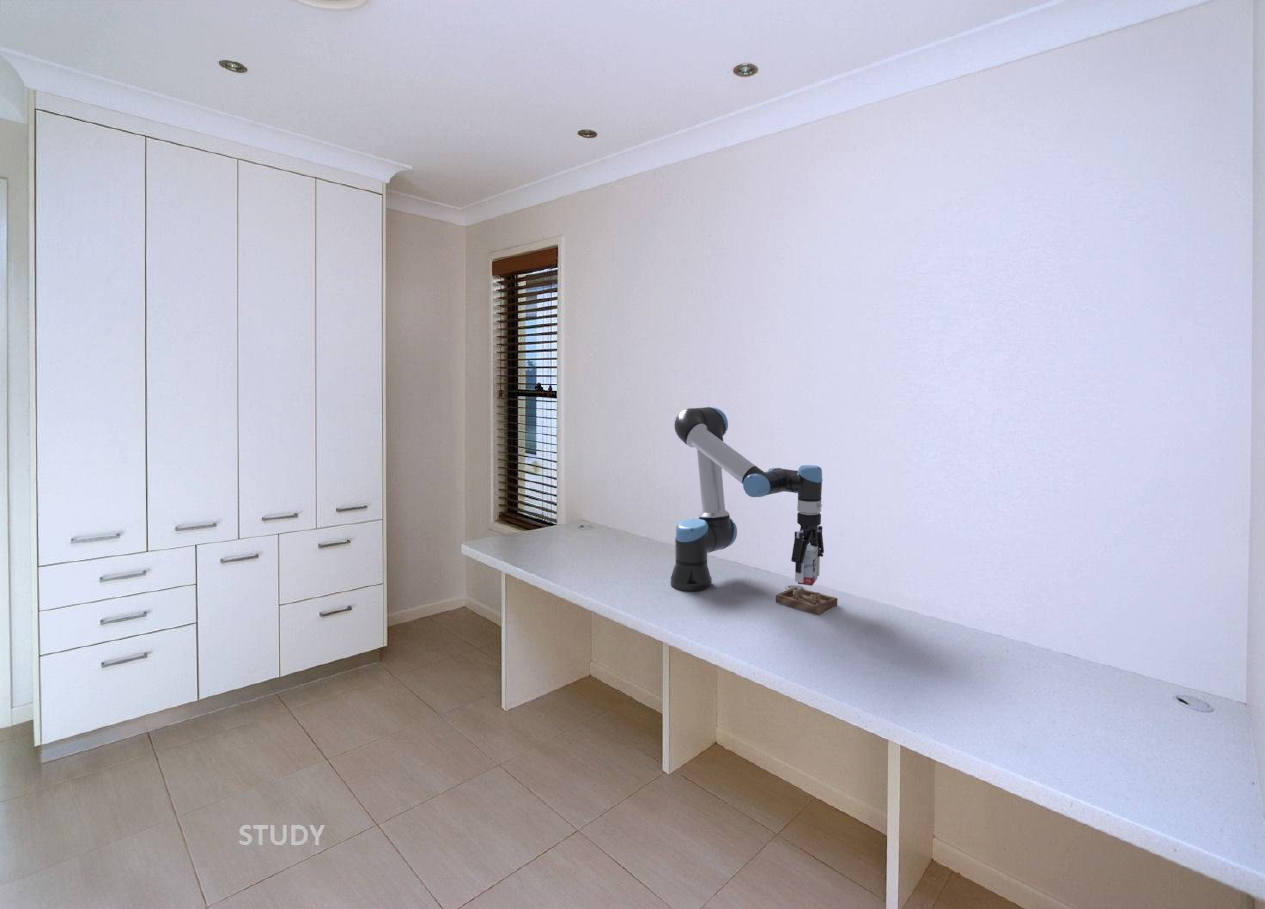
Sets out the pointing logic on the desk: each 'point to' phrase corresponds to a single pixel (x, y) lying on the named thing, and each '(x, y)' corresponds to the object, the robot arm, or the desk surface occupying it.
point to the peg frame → (806, 600)
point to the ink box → (810, 565)
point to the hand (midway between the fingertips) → (807, 578)
